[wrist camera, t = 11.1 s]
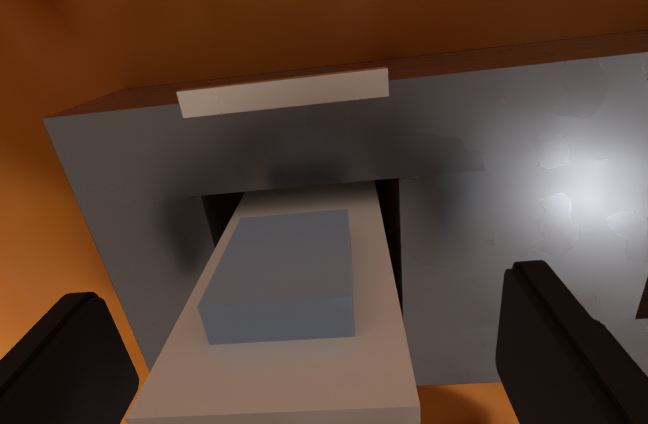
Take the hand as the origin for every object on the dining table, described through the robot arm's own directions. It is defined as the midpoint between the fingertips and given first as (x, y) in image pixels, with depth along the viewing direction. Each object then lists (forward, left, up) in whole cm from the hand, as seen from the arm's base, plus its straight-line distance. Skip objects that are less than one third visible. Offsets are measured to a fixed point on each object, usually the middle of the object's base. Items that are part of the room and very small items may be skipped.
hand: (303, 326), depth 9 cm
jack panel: (-6, 0, -6) cm, 9 cm away
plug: (0, 0, -6) cm, 6 cm away
